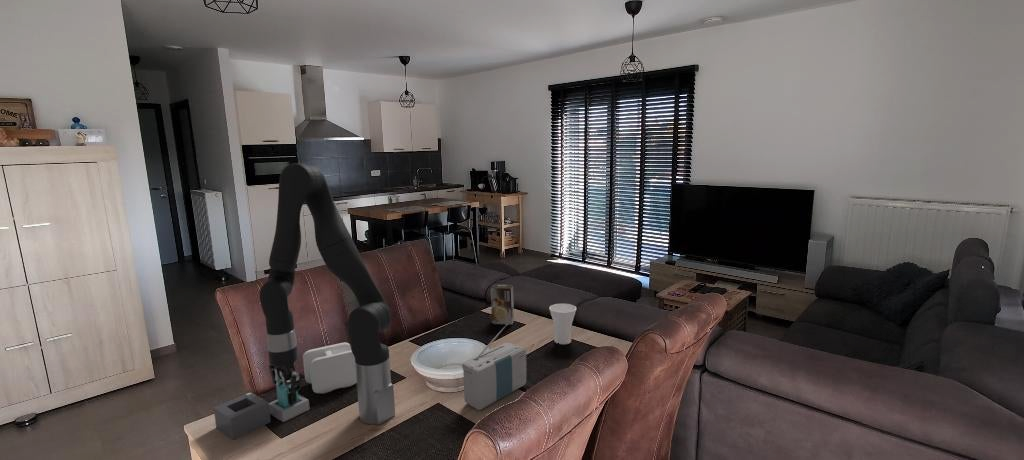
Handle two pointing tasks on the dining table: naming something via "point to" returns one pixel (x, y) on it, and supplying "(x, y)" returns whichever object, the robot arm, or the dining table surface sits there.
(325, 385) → the cable organizer
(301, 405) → the grey square hollow frame
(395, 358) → the dining table surface
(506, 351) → the stereo radio cassette player
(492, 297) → the coffee box
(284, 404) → the plug
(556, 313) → the cup
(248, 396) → the port
